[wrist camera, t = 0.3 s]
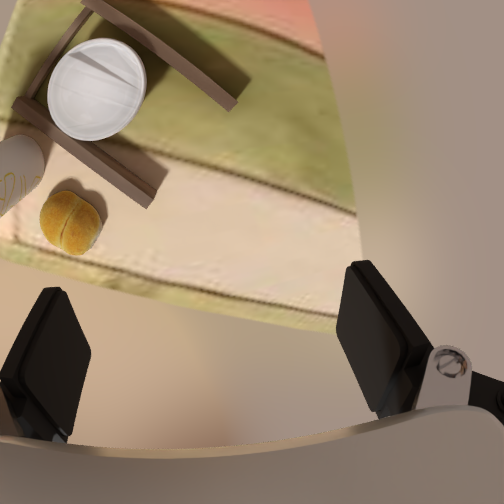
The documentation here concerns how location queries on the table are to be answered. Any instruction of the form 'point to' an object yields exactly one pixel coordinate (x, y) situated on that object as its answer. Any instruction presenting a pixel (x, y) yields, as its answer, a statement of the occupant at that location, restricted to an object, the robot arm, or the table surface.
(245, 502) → the robot arm
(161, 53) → the walnut open-sided frame
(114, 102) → the ramekin
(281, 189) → the table surface
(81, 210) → the bread roll
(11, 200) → the cup
